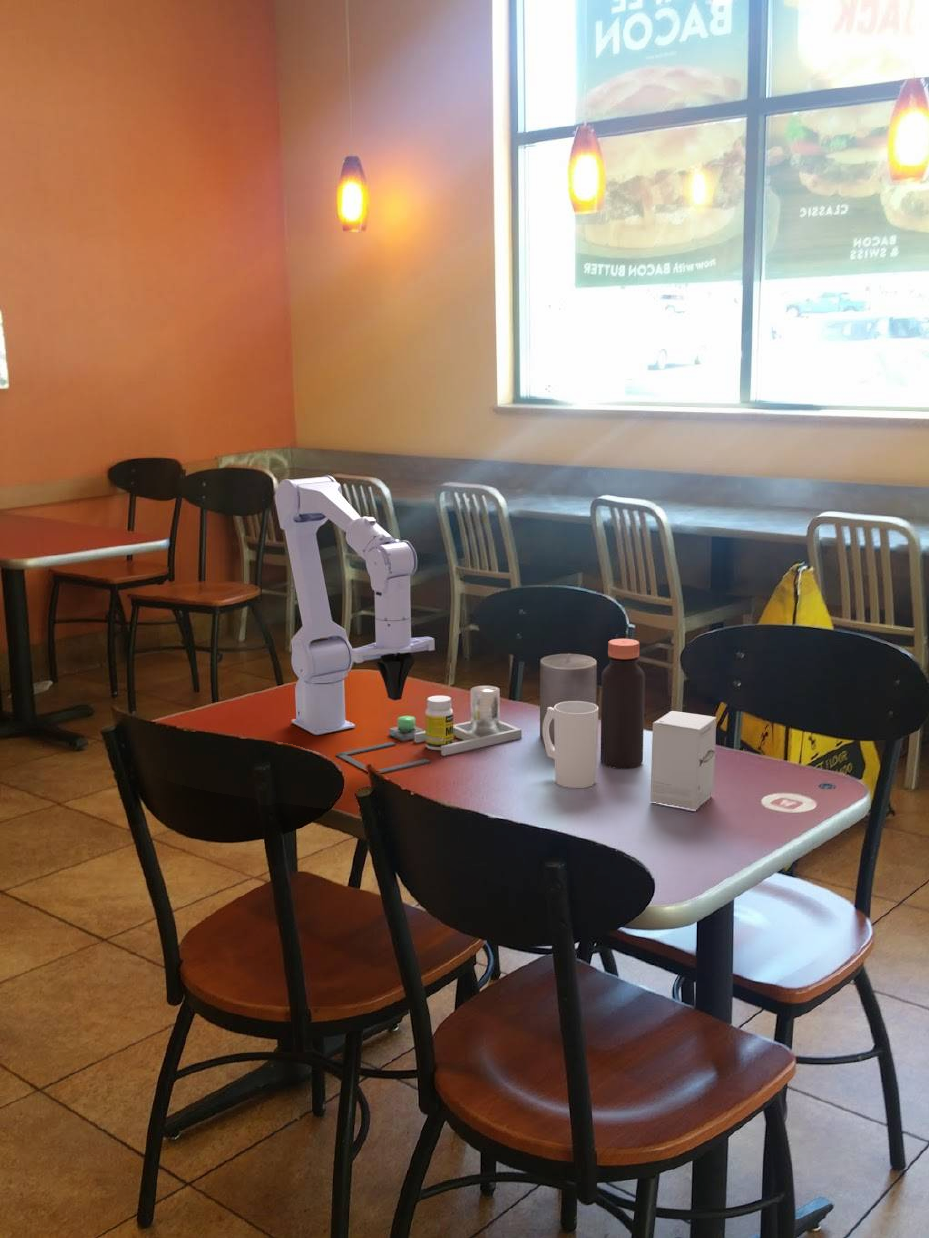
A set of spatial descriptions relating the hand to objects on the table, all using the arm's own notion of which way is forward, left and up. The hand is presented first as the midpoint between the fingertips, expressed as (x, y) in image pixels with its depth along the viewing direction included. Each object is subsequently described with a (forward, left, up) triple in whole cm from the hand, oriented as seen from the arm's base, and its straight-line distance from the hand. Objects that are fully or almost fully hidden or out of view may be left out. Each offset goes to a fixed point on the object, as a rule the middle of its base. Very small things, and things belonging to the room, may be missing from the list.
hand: (394, 698), depth 201 cm
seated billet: (0, +18, -10) cm, 20 cm away
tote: (0, -2, -10) cm, 10 cm away
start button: (-8, +7, -9) cm, 14 cm away
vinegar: (+24, +28, -10) cm, 38 cm away
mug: (+25, +16, -10) cm, 31 cm away
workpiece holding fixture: (0, +14, -10) cm, 17 cm away
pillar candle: (+9, +29, -10) cm, 32 cm away
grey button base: (-8, +7, -10) cm, 15 cm away
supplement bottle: (0, +9, -10) cm, 13 cm away
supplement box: (+42, +24, -10) cm, 49 cm away
